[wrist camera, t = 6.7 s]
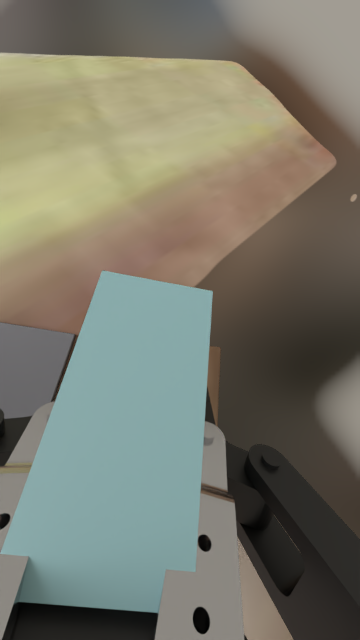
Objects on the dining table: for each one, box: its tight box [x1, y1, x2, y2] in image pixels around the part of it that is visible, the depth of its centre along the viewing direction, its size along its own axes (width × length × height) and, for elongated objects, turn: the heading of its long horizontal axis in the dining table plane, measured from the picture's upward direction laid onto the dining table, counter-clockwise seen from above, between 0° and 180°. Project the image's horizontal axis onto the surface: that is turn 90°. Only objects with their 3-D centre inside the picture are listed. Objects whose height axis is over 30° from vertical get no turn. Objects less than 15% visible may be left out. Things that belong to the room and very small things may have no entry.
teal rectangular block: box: [0, 271, 213, 613], centre depth 10 cm, size 3×6×13 cm, turn 172°
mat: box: [0, 323, 75, 419], centre depth 23 cm, size 10×10×1 cm
